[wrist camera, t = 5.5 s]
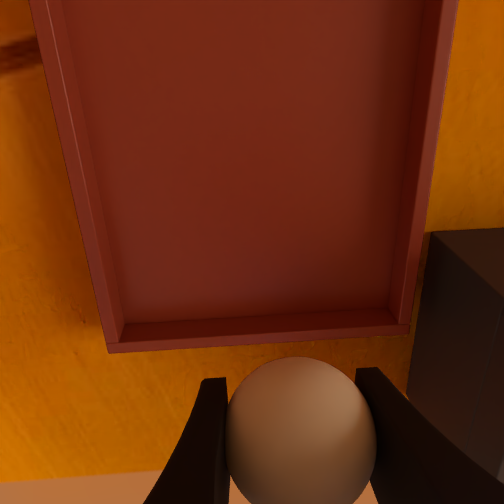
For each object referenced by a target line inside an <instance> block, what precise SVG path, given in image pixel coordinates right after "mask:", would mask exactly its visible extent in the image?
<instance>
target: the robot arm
mask: <svg viewBox="0 0 504 504" xmlns="http://www.w3.org/2000/svg"><path fill="white" fill-rule="evenodd" d="M355 385H356V386H357V387H358V389H359V390H360V392H361V393H362V395H363V396H364V398H365V399H366V401H367V404H368V406H369V408H370V410H371V413H372V416H373V419H374V424H375V429H376V435H377V454H376V460H375V465H374V469H373V472H372V474H371V477H370V479H369V480H370V483H371V486H372V488H373V491H374V494H375V496H376V499H377V501H378V504H504V484H503V483H502V482H500V481H499V480H498V479H496V478H495V477H494V476H492V475H491V474H490V473H488V472H487V471H486V470H485V469H483V468H482V467H481V466H479V465H478V464H477V463H476V462H474V461H473V460H472V459H471V458H469V457H468V456H467V455H466V454H465V453H464V452H462V451H461V450H460V449H459V448H458V447H457V446H456V445H454V444H453V443H452V442H451V441H450V440H449V439H448V438H447V437H445V436H444V435H443V434H442V433H441V432H440V431H439V430H438V429H437V428H436V427H435V426H434V425H433V424H432V423H431V422H430V421H429V420H428V419H427V418H426V417H425V416H423V415H422V414H421V413H420V412H419V411H418V410H417V409H416V408H415V407H414V406H413V405H412V404H411V402H410V401H409V400H408V399H407V398H406V397H405V396H404V395H403V394H402V393H401V392H400V391H399V390H398V389H397V388H396V387H395V386H394V384H393V383H392V382H391V381H390V380H389V379H388V378H387V377H386V376H385V375H384V374H383V373H382V371H381V370H380V369H379V368H377V367H370V368H356V375H355ZM227 406H228V397H227V384H226V377H222V378H207V379H204V380H203V381H202V382H201V385H200V389H199V392H198V395H197V398H196V401H195V404H194V407H193V409H192V412H191V414H190V417H189V419H188V421H187V424H186V426H185V428H184V430H183V433H182V435H181V437H180V439H179V441H178V443H177V445H176V447H175V449H174V451H173V453H172V455H171V457H170V459H169V461H168V462H167V464H166V466H165V468H164V470H163V472H162V473H161V475H160V477H159V479H158V480H157V482H156V484H155V486H154V487H153V489H152V490H151V492H150V494H149V495H148V497H147V498H146V500H145V501H144V503H143V504H228V503H229V488H230V473H229V470H228V468H227V465H226V456H225V425H226V413H227Z"/></svg>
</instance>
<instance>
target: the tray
mask: <svg viewBox="0 0 504 504" xmlns="http://www.w3.org/2000/svg"><path fill="white" fill-rule="evenodd" d="M28 1H29V5H30V10H31V14H32V19H33V23H34V27H35V32H36V36H37V41H38V45H39V50H40V54H41V58H42V63H43V67H44V72H45V76H46V80H47V85H48V89H49V94H50V98H51V103H52V107H53V111H54V116H55V120H56V125H57V129H58V133H59V138H60V142H61V147H62V151H63V156H64V160H65V164H66V169H67V173H68V178H69V182H70V186H71V191H72V195H73V200H74V204H75V209H76V213H77V217H78V222H79V226H80V231H81V235H82V240H83V244H84V248H85V253H86V257H87V262H88V266H89V270H90V275H91V279H92V284H93V288H94V293H95V297H96V301H97V306H98V310H99V315H100V319H101V323H102V328H103V332H104V337H105V341H106V345H107V350H108V353H109V354H111V353H126V352H142V351H157V350H172V349H188V348H203V347H218V346H234V345H249V344H264V343H280V342H295V341H310V340H326V339H341V338H356V337H372V336H387V335H402V334H409V329H410V321H411V315H412V308H413V301H414V295H415V288H416V281H417V275H418V268H419V261H420V255H421V248H422V241H423V235H424V228H425V221H426V215H427V208H428V201H429V195H430V188H431V181H432V175H433V168H434V161H435V155H436V148H437V141H438V135H439V128H440V121H441V115H442V108H443V101H444V95H445V88H446V81H447V75H448V68H449V61H450V54H451V48H452V41H453V34H454V28H455V21H456V14H457V8H458V1H459V0H28Z"/></svg>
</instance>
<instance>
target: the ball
mask: <svg viewBox="0 0 504 504" xmlns="http://www.w3.org/2000/svg"><path fill="white" fill-rule="evenodd" d="M376 454H377V435H376V429H375V424H374V419H373V416H372V413H371V410H370V408H369V406H368V404H367V401H366V399H365V398H364V396H363V395H362V393H361V392H360V390H359V389H358V387H357V386H356V385H355V384H354V383H353V382H352V381H351V380H350V379H349V378H348V377H347V376H346V375H345V374H343V373H342V372H341V371H339V370H338V369H336V368H335V367H333V366H331V365H330V364H327V363H325V362H322V361H319V360H316V359H313V358H307V357H286V358H280V359H277V360H273V361H271V362H268V363H266V364H264V365H262V366H260V367H259V368H257V369H256V370H254V371H253V372H252V373H251V374H249V375H248V376H247V377H246V378H245V379H244V380H243V381H242V382H241V384H240V385H239V386H238V388H237V389H236V391H235V392H234V394H233V396H232V398H231V400H230V402H229V404H228V406H227V413H226V425H225V456H226V465H227V468H228V470H229V473H230V475H231V477H232V479H233V481H234V483H235V484H236V486H237V488H238V489H239V490H240V492H241V493H242V494H243V495H244V496H245V498H246V499H247V500H248V501H249V502H250V503H251V504H353V503H354V502H355V500H356V499H358V497H359V496H360V495H361V493H362V492H363V490H364V489H365V487H366V485H367V484H368V482H369V479H370V477H371V474H372V472H373V469H374V465H375V460H376Z"/></svg>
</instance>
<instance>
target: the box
mask: <svg viewBox="0 0 504 504" xmlns="http://www.w3.org/2000/svg"><path fill="white" fill-rule="evenodd" d="M406 395H407V397H408V399H409V401H410V402H411V404H412V405H413V406H414V407H415V408H416V409H417V410H418V411H419V412H420V413H421V414H422V415H423V416H425V417H426V418H427V419H428V420H429V421H430V422H431V423H432V424H433V425H434V426H435V427H436V428H437V429H438V430H439V431H440V432H441V433H442V434H443V435H444V436H445V437H447V438H448V439H449V440H450V441H451V442H452V443H453V444H454V445H456V446H457V447H458V448H459V449H460V450H461V451H462V452H464V453H465V454H466V455H467V456H468V457H469V458H471V459H472V460H473V461H474V462H476V463H477V464H478V465H479V466H481V467H482V468H483V469H485V470H486V471H487V472H488V473H490V474H491V475H492V476H494V477H495V478H496V479H498V480H499V481H500V482H502V483H503V484H504V228H492V229H474V230H456V231H439V232H432V233H431V238H430V244H429V251H428V257H427V263H426V270H425V276H424V282H423V289H422V295H421V301H420V308H419V314H418V320H417V327H416V333H415V339H414V346H413V352H412V358H411V365H410V371H409V377H408V384H407V390H406Z"/></svg>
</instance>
